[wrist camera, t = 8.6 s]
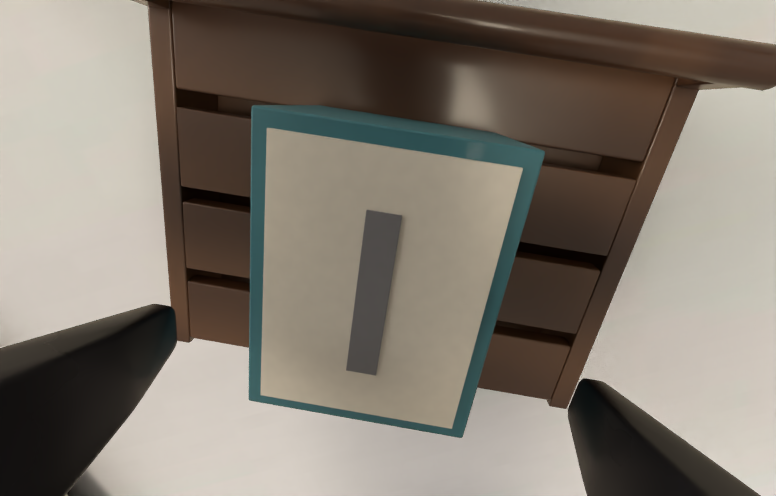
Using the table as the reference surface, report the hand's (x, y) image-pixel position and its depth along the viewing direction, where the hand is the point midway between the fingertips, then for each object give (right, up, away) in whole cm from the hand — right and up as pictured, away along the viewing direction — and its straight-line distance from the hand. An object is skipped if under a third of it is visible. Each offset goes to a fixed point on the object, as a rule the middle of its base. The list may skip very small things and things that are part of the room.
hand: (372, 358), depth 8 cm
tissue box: (0, +3, +6) cm, 7 cm away
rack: (+1, +5, +10) cm, 11 cm away
